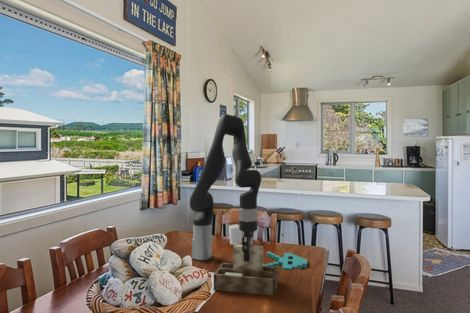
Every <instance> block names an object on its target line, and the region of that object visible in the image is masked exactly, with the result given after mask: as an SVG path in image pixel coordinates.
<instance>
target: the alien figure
mask: <svg viewBox="0 0 470 313" xmlns="http://www.w3.org/2000/svg"><path fill="white" fill-rule="evenodd" d="M268 257H269V258H270V259H273V260H274V261H272V262H268V263H267V264H264V263H263V266H272V267H279V266H280V267H281V269H282V270H290V271H293V269H299V268H300V270H302V269H303V268H308V259H307V258H303V256H298V254H294V253H290V252H284V254H283V257H282V256H280V255H276V253H272V251H267V252H266V258H268Z"/></svg>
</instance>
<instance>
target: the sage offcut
mask: <svg viewBox="0 0 470 313" xmlns="http://www.w3.org/2000/svg"><path fill="white" fill-rule="evenodd" d="M224 275H236V276H243V274H242V273H229V272H226V273H225V274H224Z"/></svg>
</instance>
